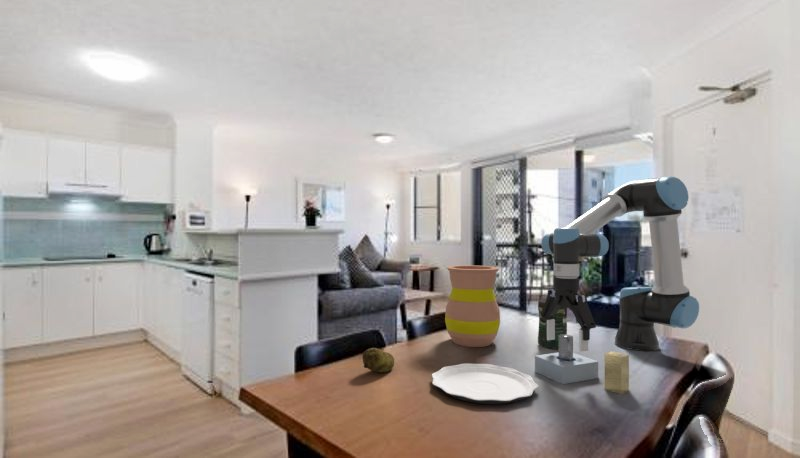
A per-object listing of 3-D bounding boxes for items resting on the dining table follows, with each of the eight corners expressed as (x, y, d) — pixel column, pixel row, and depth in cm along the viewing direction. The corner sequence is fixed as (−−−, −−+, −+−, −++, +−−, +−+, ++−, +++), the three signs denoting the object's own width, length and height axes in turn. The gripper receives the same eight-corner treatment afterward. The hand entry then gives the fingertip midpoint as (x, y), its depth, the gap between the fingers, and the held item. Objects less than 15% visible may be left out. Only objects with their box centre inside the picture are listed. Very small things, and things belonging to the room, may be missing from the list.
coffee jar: (568, 348, 160) (568, 299, 160) (552, 350, 157) (552, 301, 157) (549, 342, 169) (549, 296, 169) (534, 344, 166) (534, 297, 166)
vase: (506, 349, 158) (506, 270, 158) (447, 349, 158) (448, 269, 158) (493, 335, 180) (494, 265, 180) (442, 334, 180) (442, 265, 180)
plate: (473, 418, 100) (473, 408, 100) (413, 379, 126) (413, 371, 126) (560, 396, 114) (560, 387, 114) (489, 365, 140) (489, 358, 140)
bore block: (568, 366, 139) (568, 351, 139) (598, 377, 128) (598, 361, 128) (534, 371, 134) (534, 355, 134) (563, 384, 123) (563, 366, 123)
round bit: (565, 371, 134) (565, 333, 134) (575, 375, 130) (576, 337, 130) (555, 373, 132) (555, 335, 132) (565, 377, 128) (565, 338, 128)
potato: (404, 371, 133) (404, 346, 133) (369, 379, 125) (370, 353, 125) (388, 364, 139) (389, 340, 140) (355, 372, 132) (355, 346, 132)
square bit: (612, 385, 122) (612, 351, 122) (628, 390, 118) (628, 354, 118) (604, 389, 119) (604, 353, 119) (621, 394, 115) (621, 357, 115)
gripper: (529, 273, 141) (530, 336, 141) (589, 282, 118) (589, 357, 118) (547, 272, 144) (547, 334, 144) (608, 280, 121) (609, 354, 121)
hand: (566, 345), depth 131 cm, fingers open, 13 cm apart
